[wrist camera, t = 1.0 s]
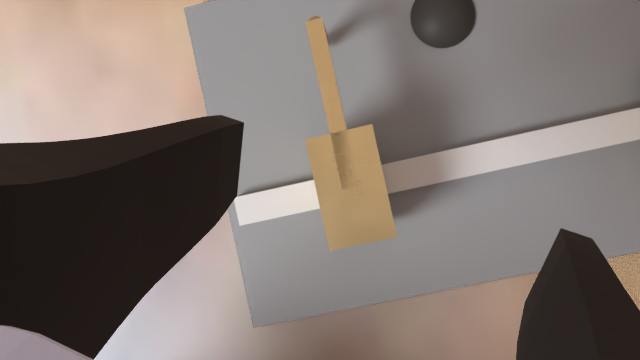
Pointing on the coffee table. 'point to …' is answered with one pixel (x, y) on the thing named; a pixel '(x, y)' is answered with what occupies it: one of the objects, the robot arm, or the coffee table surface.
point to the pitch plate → (426, 138)
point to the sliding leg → (345, 164)
